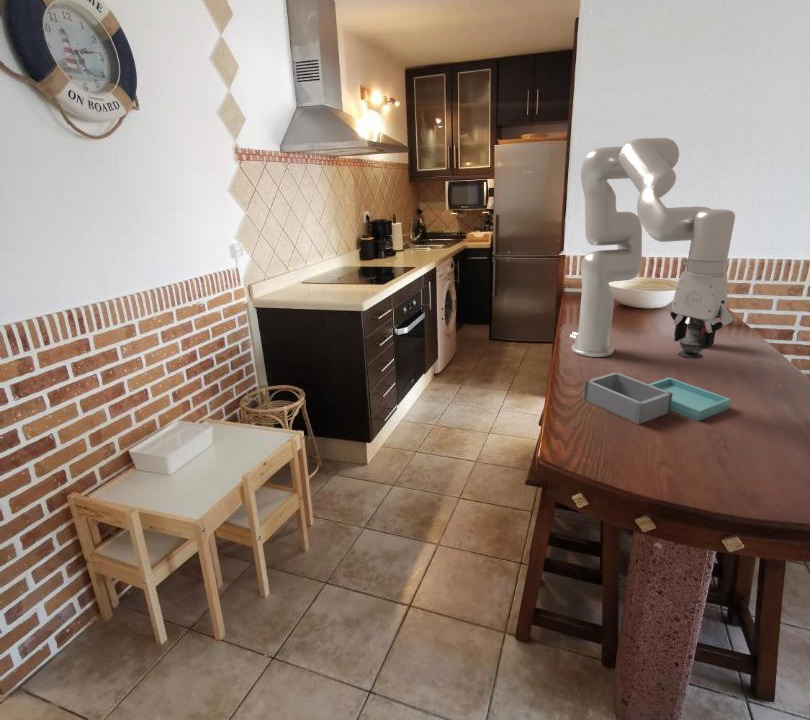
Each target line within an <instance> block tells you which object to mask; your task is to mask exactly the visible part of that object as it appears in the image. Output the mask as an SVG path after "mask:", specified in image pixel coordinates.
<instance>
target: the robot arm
mask: <svg viewBox="0 0 810 720" xmlns="http://www.w3.org/2000/svg"><path fill="white" fill-rule="evenodd" d="M679 157H680V149H679V146H678V144H677V143H676V141H674V140H673V139H671V138H668V137H647V138H644V137H642V138H635V139H632V140H631V141H628V142H627V143H625V144H624V145H623V146H606V147H605V146H604V147H600V148H595V149H593V150H591V151H589V152H588V153H587V154H586V156H585V157H584V159H583V162H582V164H581V169H580V182H581V187H582V190H583V196H584V203H585V204H584V206H585V207H584V214H585V215H584V217H585V218H584V220H585V223H584V224H585V225H584V226H585V227H584V228H585V238H586V239H585V240H586V241H587V243H588V244H589V245H590V246H594V247H595V246H596V247H598V246H599V247H600V246H601V247H602V246H603V247H604V246H617V249H603V250H602V249H601V250H594V251H591V252H588V253H587V254H586V255H584V257H583V258H582V259H581V261H580V262H581V263H580V277H581V299H580V307H579V308H580V311H579V320H578V331H575V330H574V331H572V333H571V334H570V335H569V338H570V339H571V340H574V343H573V344H572V345H571V350H572V352H574V353H575V354H578V355H581V356H585V357H592V358H603V357H608V356H609V357H610V356H612V354H614V351H615V350H614V347H613V346H612V345H610V340H611V331H612V322H613V313H614V306H615V294H614V291H613V290H612V288H611V285H610V283H613V282H623V281H624V282H625V281H630V280H633V279H635V278H636V277H638V276H639V274H640V272H641V269H642V258H643V256H642V254H643V249H642V247H643V229H642V227H643V228H644V230H645V231H646V232H647V234H648V235H649V237H651V238H652V239H654V240H655V241H657V242H662V243H669V242H670V243H671V242H681V241H684V242H685V241H690V244H689V245H690V246H689V250H688V257H687V259H686V258H685V259H683V260H682V265H683V266H685V269H686V270H684V271H682V272H681V273H680V277H679V279H678V281H677V284H676V288H675V292H674V296H673V298H672V299H673V300H671V302H669V303H668V304H667V305H666V306H665V307H666V308H665V309H666V310H667V311H668V313H669V314H670V317H671V318H672V320H673V324H674V325H675V329H674V342H679V339H680V338H684V337H685V336H686V334H687V330H688V326H687V323H685V322H686V320H687V318H688V317H691V318H695V319H699V320H704V321H705V326H706V332H704V333H703V337H702V342H701V348H702V349H703V350H705V349H709V348H712V347H713V345H714V342H715V337H716V332H717V331H719V330H720V329H723V328H724V327H726V326H727V325H729V324H730V323H732V322H733V321H734V318H733V316H732V315H731V313H730V311H729V310H728V309H727V302H728V299H727V298H728V284H729V283H728V282H729V281H728V274H725V272H726V268H727V263H728V257H729V254H730V253H729V252H730V246H731V242H732V237H733V232H734V231H733V230H734V226H735V220H736V215H735V212H734V211H732V210H730V209H724V208H723V209H721V208H719V209H718V208H717V209H716V208H715V209H714V208H709V207H707V206H680V207H666V205H665V204H664V203H663V202H662V201H661V199H660V198H662V197H664V196H665V195H667V194H668V193H669V192H670V190H672V188H673V187H674V185H675V183H676V181H677V174H676V172H675V170H674V167H675V166H676V165H677V164H678V163H679V162H678V161H679ZM621 179H622V180H624V179H626V180H627V179H630V181H631V182H632V183H633V185H634V186H635V188H636V189H637V191H638V192H639V193H640V194H639V196H638V199H637V205H636V206H637V207H636V208H637V209H636V210H637V214H636V213H634V212H632V211H617V197H616V192H615V191H614V189H613V187H612V185H610V183H609V182H608V180H621ZM718 319H721V320H720V321H718Z"/></svg>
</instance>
